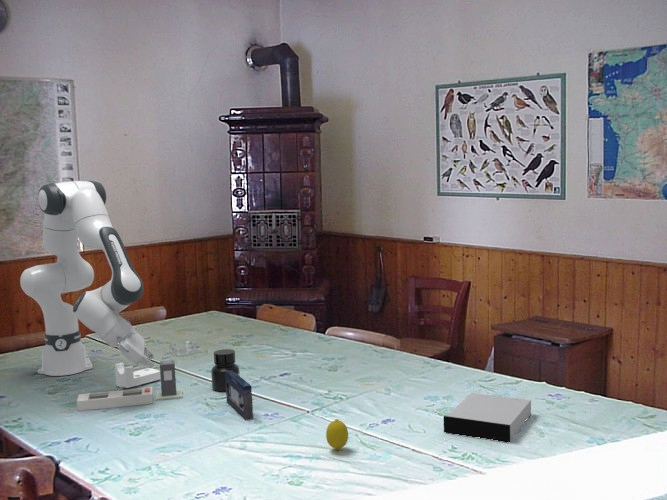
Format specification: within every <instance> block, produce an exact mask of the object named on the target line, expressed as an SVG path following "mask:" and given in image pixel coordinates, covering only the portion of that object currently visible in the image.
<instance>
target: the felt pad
mask: <svg viewBox="0 0 667 500" xmlns="http://www.w3.org/2000/svg"><path fill="white" fill-rule="evenodd" d="M155 396H156V397H155V401H168V400H176V399H177V400H179V399H183V388H176V395H172V396H162V392H161V390H156V391H155Z"/></svg>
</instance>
